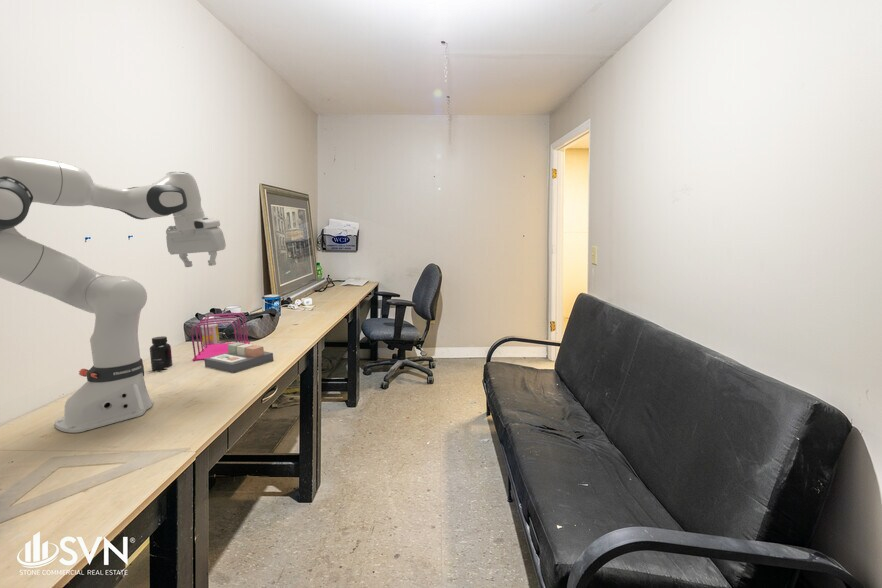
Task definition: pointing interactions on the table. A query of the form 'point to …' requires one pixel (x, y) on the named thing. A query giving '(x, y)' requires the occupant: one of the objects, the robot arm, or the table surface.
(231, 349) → the key sage
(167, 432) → the table surface
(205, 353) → the file sorter
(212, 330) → the supplement bottle
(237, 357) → the keypad base
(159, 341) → the supplement bottle
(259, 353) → the key terracotta
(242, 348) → the block
